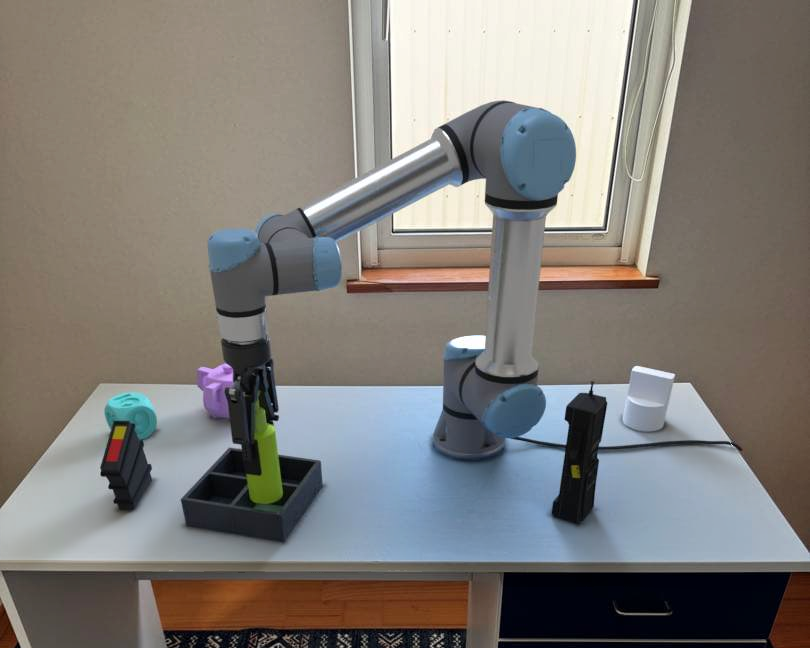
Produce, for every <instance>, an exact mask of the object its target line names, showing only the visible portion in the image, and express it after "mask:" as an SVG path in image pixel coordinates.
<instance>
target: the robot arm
mask: <svg viewBox="0 0 810 648" xmlns="http://www.w3.org/2000/svg"><path fill="white" fill-rule="evenodd" d="M576 162H577V146H576V140H575V137H574V135H573V133H572V130H571V128H570V127H569V126H568V124H567V123H566V121H564V119H562V118H561V117H560V116H558V115H557V114H554V113H552V112H551V111H549V110H547V109H545V108H543V107H537V106H531V105H526V104H521V103H517V102H514V101H510V100H505V99H504V100H503V99H501V100H493V101H490V102H487V103H484V104H481V105H479V106H476V107H475V108H473V109H471V110H468V111H466V112H465V113H463V114H461V115H459V116H457V117H455V118H453V119H451V120H449V121H447V122H445V123H444V124H441V125H440V126H438V127H435V128H434V129H433V131H432V134H431V137H430V138H429V139H427V140H425V141H424V142H422V143H420V144H418V145H416V146H414V147H413V148H410V149H409V150H407V151H405V152H403V153H401V154H399V155H397V156H395V157H394V158H391V159H389V160H387V161H386V162H384V163H381V164H380V165H378V166H376V167H374V168H372V169H370V170H368V171H367V172H365V173H362V174H361V175H359V176H357V177H355V178H353V179H351V180H350V181H347V182H346V183H344V184H341V185H340V186H338V187H336V188H334V189H332V190H330V191H328V192H326V193H324V194H323V195H320V196H319V197H317V198H315V199H313V200H311V201H309V202H307V203H305V204H303V205H302V206H300V207H297V208H296V209H293V210H291V211H289V212H287V213H285V214H280V213H271V214H268V215H266V216H264V217H262V219H260V220H259V222H258V223H257V225H256V227H255V230H253V229H248V228H225V229H219V230H217V231H215V232H213V233H211V234H210V235H209V237H208V239H207V254H208V263H209V264H208V269H209V275H210V280H211V284H212V291H213V299H214V303H215V310H216V314H215V316H216V319H217V321H218V322H217V323H218V328H219V335H220V337H221V340H220V344H221V345H220V346H221V353H222V358H223V361H224V364H228V365H229V366H230V367H231V368H232V369H233V383H234V384H233V385H232V387H231V388H229V387H226V388H225V396H226V398H227V401H228V409H229V417H230V418H229V425H230V433H231V442H232V444H234V445H240V446H241V449H242V454H243V461H244V467H245V474H250V475H257V476H260V475H261V474H262V471H261V464H260V456H259V449H258V441H257V440H254V429H255V402H256V401H257V400H259V407H261V408H263V409H264V410H265V414H266V422H267V423H269V424H271V425H273V426H274V427H275V424H274V423H275V422H278V421H279V420H280V415H279V414H278V413H279V410H280V408H279V401H278V394H277V393H278V392H277V386H276V379H275V372H274V366H275V365H274V358H273V357H272V349H271V342H270V341H271V340H270V336H269V333H270V328H269V320H268V312H267V304H266V297H270V296H279V295H288V294H289V295H290V294H297V293H299V294H300V293H305V292H306V293H308V292H320V291H323V290H328V289H332V288H337V287H338V285H340V283H341V280H342V274H343V263H342V256H341V252H340V249H339V246H338V243H339V242H342V241H343V240H345V239H347V238H349V237H351V236H353V235H355V234H357V233H358V232H360V231H363V230H365V229H366V228H368V227H370V226H372V225H374V224H375V223H378V222H379V221H382V220H384V219H385V218H387V217H389V216H391V215H394V214H395V213H397V212H399V211H401V210H403V209H404V208H407V207H409V206H411V205H412V204H414V203H416V202H418V201H420V200H422V199H424V198H426V197H428V196H430V195H431V194H433V193H436V192H437V191H439V190H441V189H443V188H445V187H447V186H452V187H455V188H459V187H461V186H462V185H465V184H467V183H469V182H472V181H476V180H485V187H484V188H485V189H484V204H485V206H486V207H487V208H488V209H489V211H491V213H492V226H491V239H490V240H491V243H490V257H489V258H490V259H489V273H488V287H487V288H488V289H487V306H486V318H485V319H486V321H485V335H466V336H460V337H456V338H454V339H452V340H450V341H448V342H447V343H446V345H445V347H444V353H443V359H442V361H443V379H442V380H443V382H442V385H443V386H442V410H441V413H440V414H439V415H440V416H439V418H438V421H437V423H436V425H435V428H434V431H433V437H432V439H433V440H432V443H433V447H434V448H435V450H436V451H437V452H439V453H440V454H442V455H443V456H445V457H449V458H451V459H455V460H460V461H482V460H486V459H487V460H488V459H490V458H493V457H495V456H497V455H498V454H500V453H501V452H502V451H503V449H504V447H505V442H506V439H510V440H515V441H520V442H524V443H529V444H530V443H531V444H535V445H540V446H546V447H554V448H562V449H566V444H562V443H554V442H547V441H540V440H535V439H532V438H531V439H530V438H527V437H526V438H525V437H522V436H524V435H526V434H527V433H529V432H530V431H532V429H533V427H535V426H537V425H538V423H539V422H540V421H541V419H542V418H543V416H544V413H545V412H546V407H547V398H546V395H545V393H544V391H543V389H542V388H541V387H540V386H538V376H539V367H540V363H539V360H538V359H537V357H535V356H534V355H533V345H534V334H535V328H536V327H535V326H536V317H537V309H538V307H537V306H538V298H539V287H540V280H541V279H540V278H541V269H542V268H541V267H542V259H543V251H544V250H543V249H544V248H543V247H544V240H545V231H546V230H545V229H546V221H547V216H548V214H549V213H550V212H551V211H553V209H555V208H557V206H558V200H559V199H558V198H559V194H560V193H561V192H562V191H563V190H564V189H565V185H566V184H567V183H569V182H570V180H571V178H572V176H573V173H574V170H575V167H576ZM258 390H260V391H261V392H260V394H259V396H258ZM244 395H252V397H251V396H244ZM730 442H731V443H730ZM689 444H690V445H693V444H696V445H726V446H727V445H728V446H732V445H733V446H732V447H734V448H736V449H737V450H738V451H739V452H743V451H744V449H743V448H742V447H741V446H740V445H739V444H738V443H736V442H733V441H729V440H701V439H699V440H698V439H696V440H695V439H693V440H692V439H691V440H689V439H688V440H687V439H686V440H685V439H684V440H669V441H667V440H666V441H657V442H648V443H647V442H646V443H637V444H635V443H634V444H627V445H612V446H611V445H610V446H608V445H607V446H599V448H598V451H611V450H612V451H613V450H627V449H638V448H648V447H649V448H650V447H658V446H666V445H667V446H668V445H669V446H670V445H689ZM731 444H732V445H731Z"/></svg>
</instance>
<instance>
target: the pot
mask: <svg viewBox="0 0 810 648" xmlns="http://www.w3.org/2000/svg"><path fill="white" fill-rule="evenodd" d="M196 374H197V377H196V378H197V380H196V381H197V385H196V386H197V388H199V389H200V391H202V393H203V394H202V403H203V408H204V410H206V412H207V413H208V414H210V415H211V416H212V418H214V419H221V418H225V419H230V417H229V409H228V401H227V398H226V396H225V388H226V387H229V388H231V387H232V385H233V384H234V383H233V369H232V368H231V367H230V366H229V365H228V364H226V363H223V364H220V365H218V366H216V367H214V368H209V367H205V366H200V367H199V368H197V373H196ZM244 396H245V395H244Z"/></svg>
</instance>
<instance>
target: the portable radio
mask: <svg viewBox="0 0 810 648" xmlns="http://www.w3.org/2000/svg"><path fill="white" fill-rule="evenodd" d="M594 384H595V381H594V380H590V390H588V392H578V393H577V395H576V396H574V397H573V399H572V400H570V402H569V403H568V404H567V405H566V407H565V411H564V412H565V413H564V421H565V422H567V424H568V429H567V435H566V441H565V442H566V443H565V445H566V448H564V449H565V450H564V456H563V457H564V458H563V464H562V470H561V476H560V477H561V478H560V485H559V492H558V495H557V496H556V497H555V499H553V501H552V507H551V515H552V516H554V517H556V518H559V519H561V520H564V521H568V522H570V523H574V524H577V525H578V524H580V523H582V522H583V521H584V520H585V519H586V518H587V516H589V514H590V513H591V511H592V510H593V508H594V507H595V498H596V497H595V496H596V495H595V494H596V486H597V479H598V471H599V463H600V459H599V458H598V455H599V454H598V453H599V450H598V448H599V447H600V443H601V442H602V438H603V432H604V426H605V420H606V413H607V408H608V401H607V397H606V396H603V395H599V394H595V393H594V389H593V388H594Z"/></svg>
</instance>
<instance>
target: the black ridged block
mask: <svg viewBox="0 0 810 648" xmlns="http://www.w3.org/2000/svg"><path fill="white" fill-rule="evenodd" d="M135 427H136V425H135V424H134V423H130V421H114V422H113V425H112V428H111V430H110V431H109V435H108V439H107V442H106V446H105V450H104V453H103V456H102V460H101V463H100V467H99V469H100V474H99V475H100V476H101V478H102V477H103V478H106V479H107V481H108V486H107V489H108V490H112V491H113V494H114V499H113V500H112V502H113V504H114V505H117V508H118V509H119V510H135V509H136V507H137V505H138V504H139V502H140V500H141V499H142V497H143V496H144V494H145V492H146V491H147V489H148V488H149V486H150V484H151V483H152V481H153V478H152V477H153V476H152V474H151V471H152V470H153V466H152V463H148V459H147V456H146V453H145V451H144V447H145V443H144V440H139V438H138V436H137V433H136V432H135Z"/></svg>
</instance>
